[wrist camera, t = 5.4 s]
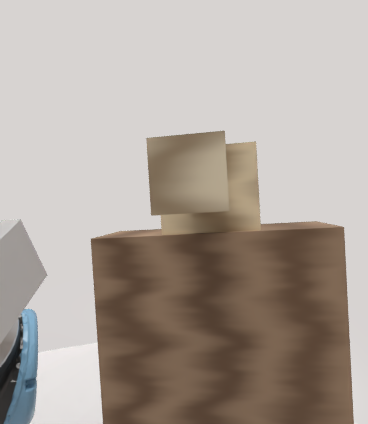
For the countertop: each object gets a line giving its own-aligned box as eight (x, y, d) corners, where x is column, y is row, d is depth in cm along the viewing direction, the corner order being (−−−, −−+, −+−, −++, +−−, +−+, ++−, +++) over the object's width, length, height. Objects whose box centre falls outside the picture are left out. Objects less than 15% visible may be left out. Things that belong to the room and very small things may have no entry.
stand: (92, 583, 26) (68, 239, 26) (120, 504, 33) (102, 232, 33) (391, 620, 23) (372, 225, 22) (353, 523, 30) (337, 220, 29)
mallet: (94, 268, 12) (82, 93, 12) (177, 227, 33) (173, 163, 33) (301, 261, 11) (291, 68, 11) (252, 223, 32) (248, 157, 32)
